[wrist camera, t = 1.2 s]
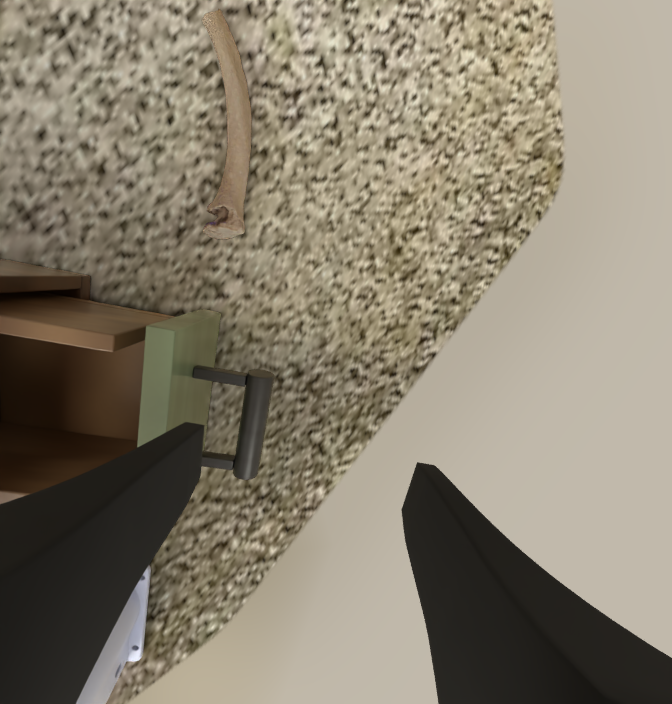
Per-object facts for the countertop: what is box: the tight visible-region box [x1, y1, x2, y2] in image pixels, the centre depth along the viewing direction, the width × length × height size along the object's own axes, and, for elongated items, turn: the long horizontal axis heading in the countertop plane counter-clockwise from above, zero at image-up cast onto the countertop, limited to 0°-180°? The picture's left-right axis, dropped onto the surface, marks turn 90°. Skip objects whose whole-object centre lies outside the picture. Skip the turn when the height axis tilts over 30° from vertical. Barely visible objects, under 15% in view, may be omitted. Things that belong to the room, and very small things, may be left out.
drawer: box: [0, 291, 274, 504], centre depth 17 cm, size 17×10×7 cm, turn 78°
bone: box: [202, 9, 252, 239], centre depth 18 cm, size 3×11×2 cm, turn 176°
